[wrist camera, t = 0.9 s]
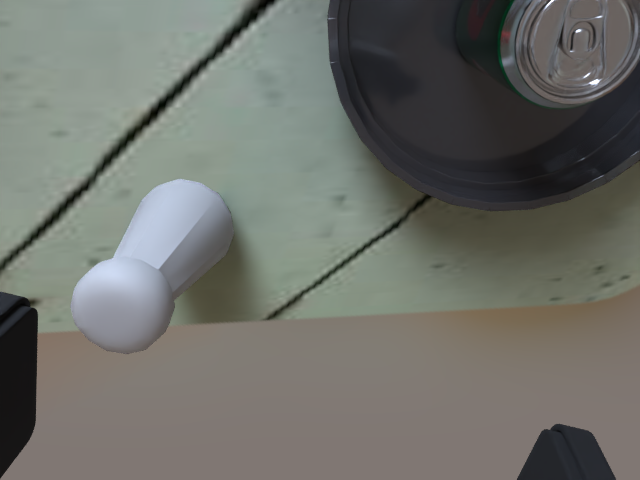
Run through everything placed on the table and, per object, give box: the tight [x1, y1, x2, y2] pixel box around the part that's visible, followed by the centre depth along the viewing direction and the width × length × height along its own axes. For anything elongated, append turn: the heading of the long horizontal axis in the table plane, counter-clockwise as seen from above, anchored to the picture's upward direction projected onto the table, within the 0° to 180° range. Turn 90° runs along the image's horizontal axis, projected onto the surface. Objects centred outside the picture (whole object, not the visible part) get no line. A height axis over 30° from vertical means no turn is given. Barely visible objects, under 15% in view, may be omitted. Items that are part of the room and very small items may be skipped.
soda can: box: [455, 0, 640, 110], centre depth 24 cm, size 5×5×12 cm
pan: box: [327, 0, 640, 211], centre depth 28 cm, size 18×18×4 cm
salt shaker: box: [70, 179, 234, 354], centre depth 30 cm, size 6×6×13 cm
